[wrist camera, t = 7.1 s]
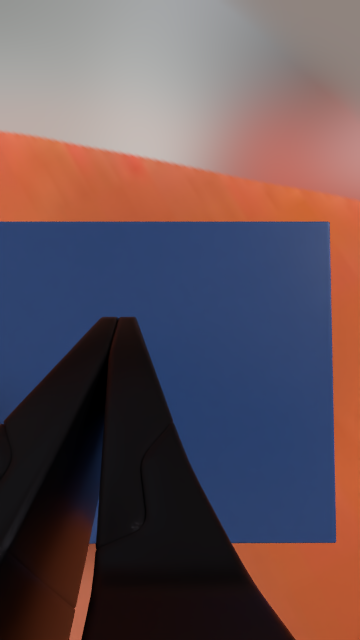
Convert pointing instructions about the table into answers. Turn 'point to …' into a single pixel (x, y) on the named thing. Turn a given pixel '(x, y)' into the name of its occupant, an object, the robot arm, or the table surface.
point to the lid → (198, 349)
